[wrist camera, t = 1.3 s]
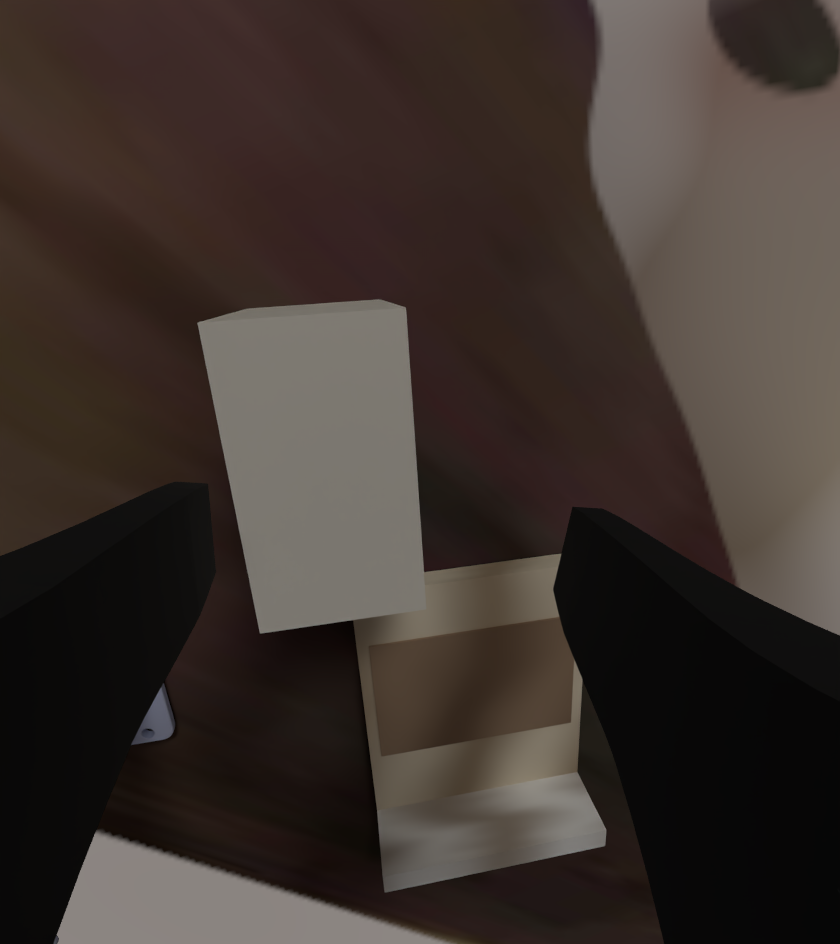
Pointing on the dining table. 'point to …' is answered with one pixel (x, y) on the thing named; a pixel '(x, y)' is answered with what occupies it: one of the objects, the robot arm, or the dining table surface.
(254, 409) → the carton
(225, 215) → the dining table surface
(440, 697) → the cream tray
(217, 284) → the dining table surface
